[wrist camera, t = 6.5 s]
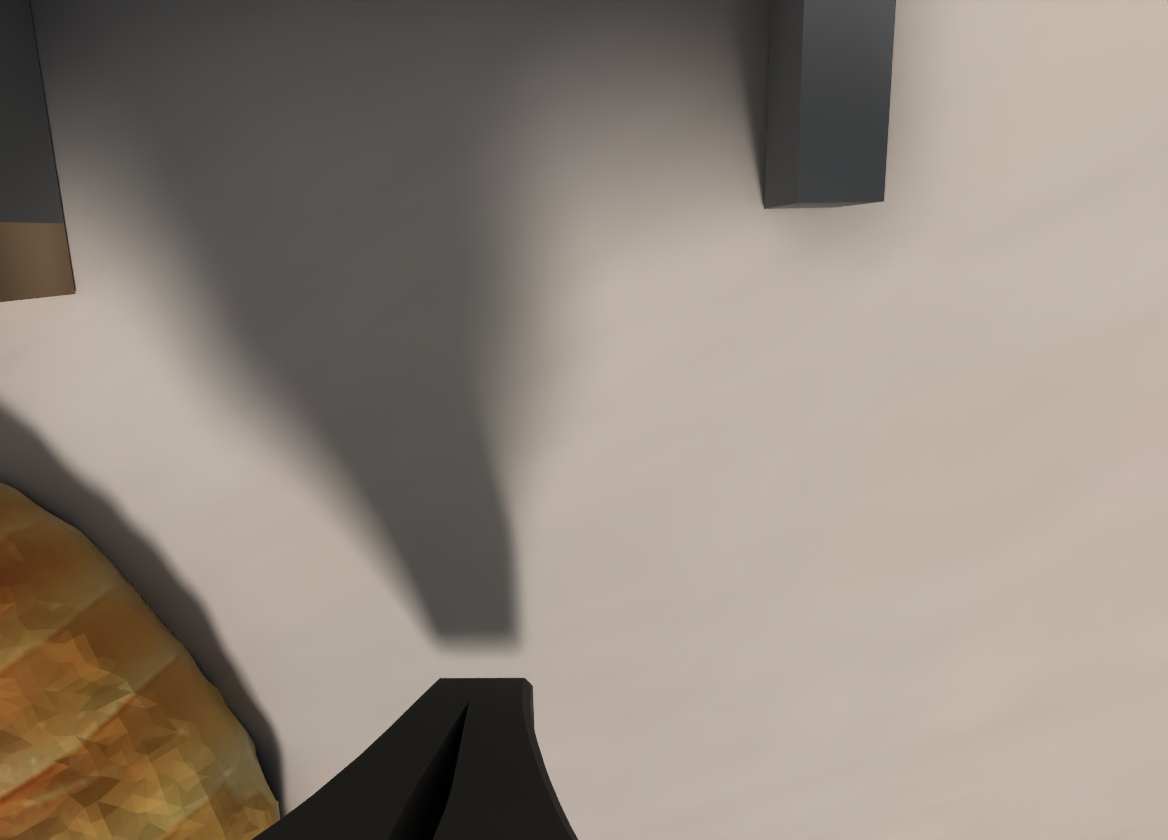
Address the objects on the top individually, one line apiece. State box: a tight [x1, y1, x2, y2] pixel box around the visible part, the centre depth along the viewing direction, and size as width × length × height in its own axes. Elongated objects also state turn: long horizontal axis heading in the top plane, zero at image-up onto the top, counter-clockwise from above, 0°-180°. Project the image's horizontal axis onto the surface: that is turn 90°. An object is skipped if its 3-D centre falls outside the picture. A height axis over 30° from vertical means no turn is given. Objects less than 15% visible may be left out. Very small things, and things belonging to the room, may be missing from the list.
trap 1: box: [0, 0, 896, 224], centre depth 10 cm, size 4×12×2 cm, turn 91°
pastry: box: [0, 482, 280, 840], centre depth 12 cm, size 9×7×4 cm
